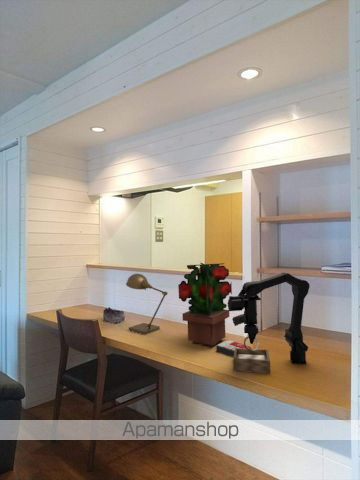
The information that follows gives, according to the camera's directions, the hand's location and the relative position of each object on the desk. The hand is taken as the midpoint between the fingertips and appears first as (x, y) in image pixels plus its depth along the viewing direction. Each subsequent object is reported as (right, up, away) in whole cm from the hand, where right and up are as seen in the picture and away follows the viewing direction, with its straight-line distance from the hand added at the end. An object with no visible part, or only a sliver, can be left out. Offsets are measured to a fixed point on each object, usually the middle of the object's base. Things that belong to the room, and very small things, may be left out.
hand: (251, 342), depth 154 cm
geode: (-83, -12, +89) cm, 122 cm away
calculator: (-5, -11, +19) cm, 22 cm away
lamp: (-54, -11, +59) cm, 81 cm away
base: (0, -11, +1) cm, 11 cm away
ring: (0, -4, 0) cm, 4 cm away
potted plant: (-18, -11, +35) cm, 41 cm away
